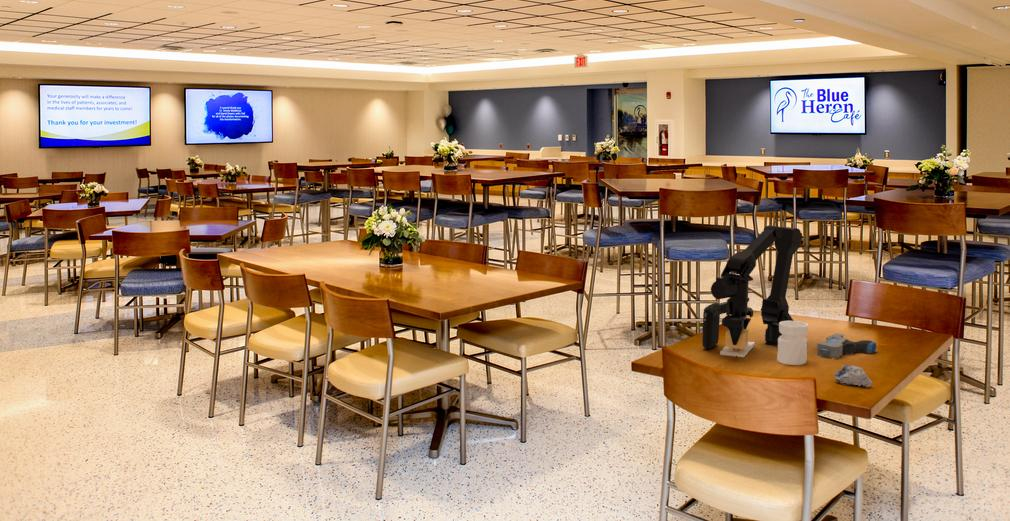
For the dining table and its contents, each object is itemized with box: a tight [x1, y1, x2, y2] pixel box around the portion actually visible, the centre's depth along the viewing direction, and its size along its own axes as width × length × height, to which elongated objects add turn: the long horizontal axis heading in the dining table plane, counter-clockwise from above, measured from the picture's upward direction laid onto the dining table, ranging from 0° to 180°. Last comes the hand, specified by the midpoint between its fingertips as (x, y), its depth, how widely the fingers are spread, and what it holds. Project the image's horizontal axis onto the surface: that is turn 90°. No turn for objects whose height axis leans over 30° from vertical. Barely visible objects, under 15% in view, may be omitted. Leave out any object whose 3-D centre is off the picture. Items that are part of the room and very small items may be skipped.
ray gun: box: [816, 333, 877, 359], centre depth 276 cm, size 4×19×15 cm
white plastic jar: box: [776, 320, 809, 366], centre depth 267 cm, size 9×9×12 cm
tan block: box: [724, 328, 750, 349], centre depth 276 cm, size 6×6×5 cm
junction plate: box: [719, 340, 756, 358], centre depth 281 cm, size 8×17×4 cm, turn 153°
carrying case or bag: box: [701, 302, 721, 350], centre depth 282 cm, size 11×3×15 cm, turn 145°
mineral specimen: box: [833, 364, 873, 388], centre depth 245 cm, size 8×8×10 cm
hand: (736, 342), depth 276 cm, fingers closed on tan block, 6 cm apart
